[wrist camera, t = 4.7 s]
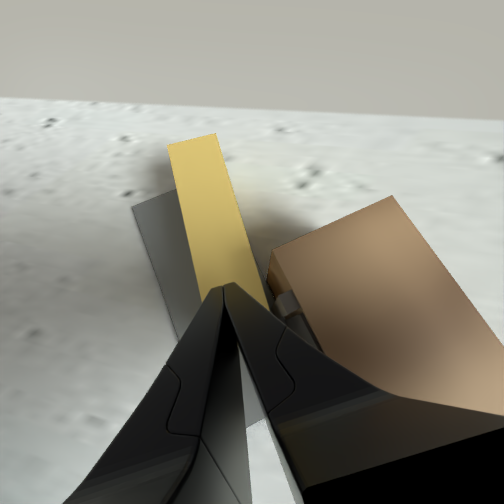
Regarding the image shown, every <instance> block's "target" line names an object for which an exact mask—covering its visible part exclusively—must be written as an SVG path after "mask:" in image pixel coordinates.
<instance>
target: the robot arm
mask: <svg viewBox="0 0 504 504" xmlns="http://www.w3.org/2000/svg"><path fill="white" fill-rule="evenodd" d="M238 346H239V347H238ZM239 348H240V351H241V354H242V357H243V360H244V363H245V365H246V368H247V371H248V374H249V376H250V379H251V382H252V385H253V387H254V390H255V393H256V396H257V398H258V401H259V404H260V407H261V409H262V412H263V415H264V418H265V420H266V423H267V426H268V429H269V431H270V434H271V437H272V440H273V442H274V445H275V448H276V451H277V453H278V456H279V459H280V462H281V464H282V467H283V470H284V473H285V475H286V478H287V481H288V484H289V486H290V489H291V492H292V495H293V497H294V500H295V503H296V504H504V416H503V415H498V414H492V413H487V412H482V411H476V410H471V409H465V408H460V407H455V406H449V405H444V404H438V403H433V402H428V401H422V400H417V399H411V398H406V397H401V396H398V395H395V394H392V393H389V392H387V391H384V390H382V389H380V388H378V387H376V386H374V385H373V384H371V383H369V382H368V381H366V380H364V379H363V378H361V377H360V376H358V375H356V374H355V373H353V372H352V371H350V370H349V369H347V368H345V367H344V366H342V365H341V364H339V363H338V362H336V361H334V360H333V359H331V358H330V357H328V356H327V355H325V354H324V353H322V352H321V351H319V350H318V349H316V348H315V347H313V346H312V345H310V344H309V343H307V342H306V341H305V340H304V339H302V338H301V337H300V336H299V335H297V334H296V333H295V332H294V331H292V330H291V329H290V328H289V327H287V326H286V325H285V324H284V323H283V322H282V321H280V320H279V319H278V318H277V317H276V316H275V315H273V314H272V313H271V312H270V311H269V310H267V309H266V308H265V307H264V306H263V305H261V304H260V303H259V302H258V301H257V300H256V299H254V298H253V297H252V296H251V295H250V294H248V293H247V292H246V291H245V290H244V289H243V288H241V287H240V286H239V285H238V284H237V283H235V282H231V283H227V284H224V285H223V286H217V287H214V288H211V289H210V291H209V292H208V294H207V296H206V297H205V299H204V301H203V302H202V304H201V306H200V307H199V309H198V310H197V312H196V314H195V315H194V317H193V319H192V320H191V322H190V324H189V325H188V327H187V329H186V330H185V332H184V334H183V335H182V337H181V339H180V340H179V342H178V344H177V345H176V347H175V348H174V350H173V352H172V353H171V355H170V357H169V358H168V360H167V362H166V365H164V366H163V368H162V370H161V371H160V373H159V375H158V376H157V378H156V379H155V381H154V383H153V384H152V386H151V387H150V389H149V390H148V392H147V393H146V395H145V396H144V398H143V399H142V401H141V402H140V404H139V405H138V406H137V408H136V409H135V411H134V412H133V413H132V415H131V416H130V418H129V419H128V420H127V422H126V423H125V425H124V426H123V427H122V429H121V430H120V431H119V433H118V434H117V435H116V437H115V438H114V440H113V441H112V442H111V444H110V445H109V446H108V448H107V449H106V451H105V452H104V453H103V455H102V456H101V457H100V459H99V460H98V461H97V463H96V464H95V466H94V467H93V468H92V470H91V471H90V472H89V474H88V475H87V476H86V478H85V479H84V480H83V481H82V483H81V484H80V485H79V486H78V487H77V488H76V490H75V491H74V492H73V493H72V494H71V495H70V496H69V497H68V498H67V499H66V500H65V501H64V502H63V503H62V504H252V494H251V482H250V471H249V459H248V448H247V436H246V424H245V413H244V401H243V390H242V378H241V366H240V355H239Z"/></svg>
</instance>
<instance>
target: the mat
mask: <svg viewBox="0 0 504 504" xmlns="http://www.w3.org/2000/svg"><path fill="white" fill-rule="evenodd" d="M132 209H133V211H134V214H135V217H136V220H137V223H138V226H139V228H140V231H141V234H142V237H143V240H144V243H145V245H146V248H147V251H148V254H149V257H150V259H151V262H152V265H153V268H154V271H155V274H156V276H157V279H158V282H159V285H160V288H161V290H162V293H163V296H164V299H165V302H166V305H167V307H168V310H169V313H170V316H171V319H172V322H173V324H174V327H175V330H176V333H177V336H178V338H179V340H180V339H181V337H182V335H183V334H184V332H185V330H186V329H187V327H188V325H189V324H190V322H191V320H192V319H193V317H194V315H195V314H196V312H197V310H198V309H199V307H200V306H201V304H202V300H201V296H200V291H199V287H198V282H197V278H196V273H195V269H194V264H193V260H192V255H191V251H190V246H189V242H188V237H187V233H186V228H185V224H184V220H183V215H182V211H181V206H180V202H179V197H178V193H177V189H175V190H172V191H170V192H167V193H165V194H162V195H160V196H157V197H155V198H152V199H150V200H147V201H145V202H143V203H140V204H138V205H135V206H133V207H132ZM253 257H254V256H253ZM254 260H255V258H254ZM255 264H256V267H257V270H258V273H259V277H260V280H261V283H262V287H263V290H264V293H265V296H266V300H267V303H268V306H269V310H270V312H271V313H272V310H271V307H272V305H273V304H274V302H275V299H274V297H273V295H272V293H271V291H270V289H269V287H268V285H267V283H266V280H265V278H264V276H263V274H262V272H261V270H260V268H259V266H258V264H257V262H256V260H255ZM272 314H273V313H272ZM279 320H280V321H282V322H283V323H284V324H285V325H286V326H287V324H286V322H285V319H284V317H282V318H280V319H279ZM287 327H288V326H287ZM238 347H239V346H238ZM239 355H240V366H241V378H242V390H243V401H244V413H245V424H246V428H247V427H249V426H251V425H253V424H254V423H256V422H258V421H260V420H262V419H264V415H263V412H262V409H261V407H260V404H259V401H258V398H257V396H256V393H255V390H254V387H253V385H252V382H251V379H250V376H249V374H248V371H247V368H246V365H245V363H244V360H243V357H242V354H241V351H240V348H239Z"/></svg>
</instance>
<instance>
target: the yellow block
mask: <svg viewBox="0 0 504 504" xmlns="http://www.w3.org/2000/svg"><path fill="white" fill-rule="evenodd" d="M167 148H168V152H169V157H170V161H171V166H172V170H173V175H174V179H175V184H176V188H177V193H178V197H179V202H180V206H181V211H182V215H183V220H184V224H185V228H186V233H187V237H188V242H189V246H190V251H191V255H192V260H193V264H194V269H195V273H196V278H197V282H198V287H199V291H200V296H201V300H202V302H203V301H204V299H205V297H206V296H207V294H208V292H209V291H210V289H211V288H214V287H217V286H223V285H224V284H227V283H231V282H235V283H237V284H238V285H239V286H240V287H241V288H243V289H244V290H245V291H246V292H247V293H248V294H250V295H251V296H252V297H253V298H254V299H256V300H257V301H258V302H259V303H260V304H261V305H263V306H264V307H265V308H266V309H267V310H269V306H268V303H267V300H266V296H265V293H264V290H263V287H262V283H261V280H260V277H259V273H258V270H257V267H256V264H255V260H254V257H253V254H252V251H251V247H250V244H249V241H248V237H247V234H246V231H245V228H244V224H243V221H242V218H241V214H240V211H239V208H238V205H237V201H236V198H235V195H234V191H233V188H232V185H231V182H230V178H229V175H228V172H227V168H226V165H225V162H224V159H223V155H222V152H221V149H220V146H219V142H218V139H217V136H216V133H214V134H210V135H206V136H202V137H198V138H194V139H190V140H186V141H182V142H178V143H174V144H169V145H167ZM269 311H270V310H269Z"/></svg>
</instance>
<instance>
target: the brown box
mask: <svg viewBox="0 0 504 504" xmlns="http://www.w3.org/2000/svg"><path fill="white" fill-rule="evenodd" d="M266 281H267V283H268V285H269V287H270V289H271V291H272V293H273V295H274V297H275V299H276V300H275V302H274V304H273V305H272V307H271V310H272V313H273V315H275V316H276V317H277V318H278V319H280V318H282V317H285V319H286V320H285V322H286V324H287V326H288V327H289V328H290V329H291V330H292V331H294V332H295V333H296V334H297V335H299V336H300V337H301V338H302V339H304V340H305V341H306V342H307V343H309V344H310V345H312V346H313V347H315V348H316V349H318V350H319V351H321V352H322V353H324V354H325V355H327V356H328V357H330V358H331V359H333V360H334V361H336V362H338V363H339V364H341V365H342V366H344V367H345V368H347V369H349V370H350V371H352V372H353V373H355V374H356V375H358V376H360V377H361V378H363V379H364V380H366V381H368V382H369V383H371V384H373V385H374V386H376V387H378V388H380V389H382V390H384V391H387V392H389V393H392V394H395V395H398V396H401V397H406V398H411V399H417V400H422V401H428V402H433V403H438V404H444V405H449V406H455V407H460V408H465V409H471V410H476V411H482V412H487V413H492V414H498V415H503V416H504V346H503V345H502V343H501V342H500V341H499V339H498V338H497V337H496V335H495V334H494V333H493V331H492V330H491V328H490V327H489V326H488V324H487V323H486V322H485V320H484V319H483V318H482V316H481V315H480V314H479V312H478V311H477V309H476V308H475V307H474V305H473V304H472V303H471V301H470V300H469V299H468V297H467V296H466V295H465V293H464V292H463V291H462V289H461V288H460V286H459V285H458V284H457V282H456V281H455V280H454V278H453V277H452V276H451V274H450V273H449V272H448V270H447V269H446V268H445V266H444V265H443V263H442V262H441V261H440V259H439V258H438V257H437V255H436V254H435V253H434V251H433V250H432V249H431V247H430V246H429V244H428V243H427V242H426V240H425V239H424V238H423V236H422V235H421V234H420V232H419V231H418V230H417V228H416V227H415V226H414V224H413V223H412V221H411V220H410V219H409V217H408V216H407V215H406V213H405V212H404V211H403V209H402V208H401V207H400V205H399V204H398V203H397V201H396V200H395V198H394V197H393V196H392V195H391V196H389V197H387V198H385V199H382V200H380V201H378V202H376V203H374V204H372V205H369V206H367V207H365V208H363V209H361V210H358V211H356V212H354V213H352V214H350V215H347V216H345V217H343V218H341V219H339V220H336V221H334V222H332V223H330V224H328V225H325V226H323V227H321V228H319V229H317V230H314V231H312V232H310V233H308V234H306V235H303V236H301V237H299V238H297V239H295V240H293V241H290V242H288V243H286V244H284V245H282V246H279V247H277V248H275V249H273V250H272V253H271V258H270V263H269V269H268V274H267V280H266Z"/></svg>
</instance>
